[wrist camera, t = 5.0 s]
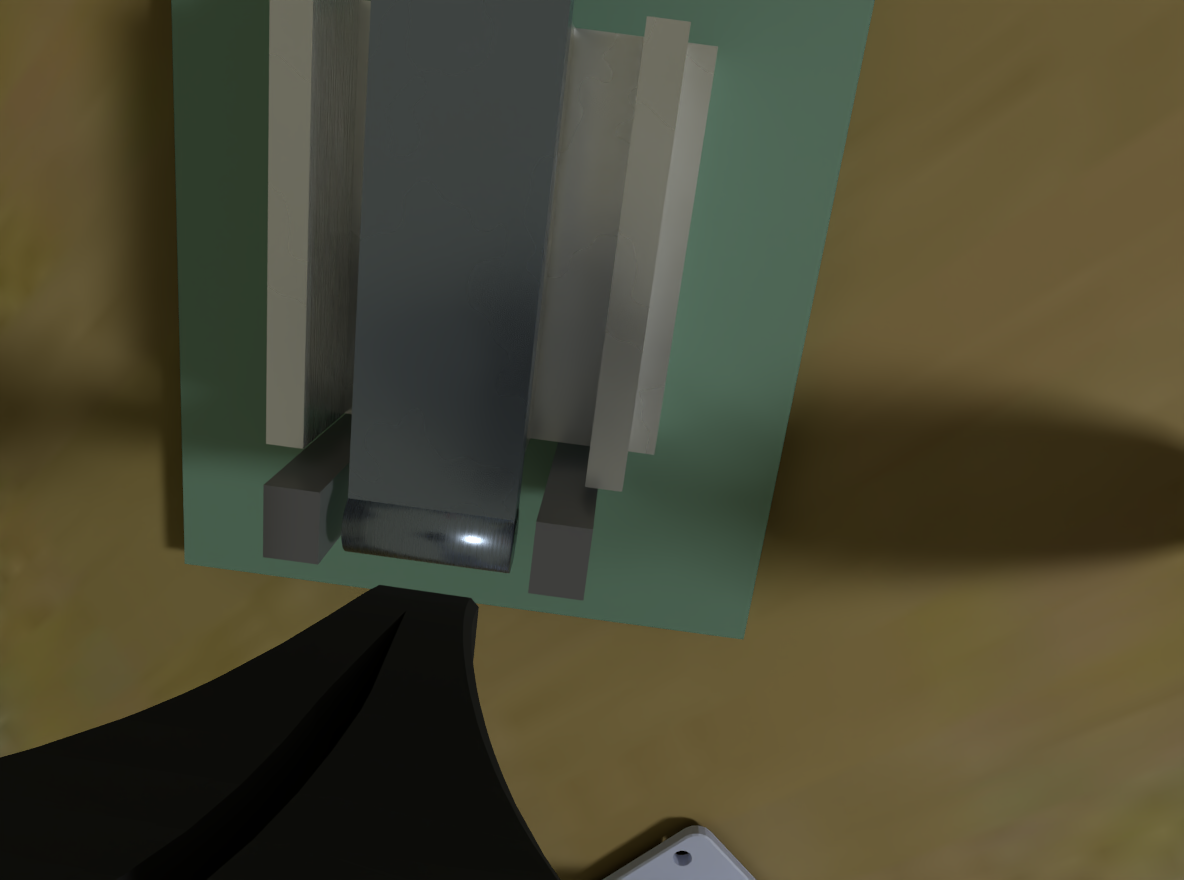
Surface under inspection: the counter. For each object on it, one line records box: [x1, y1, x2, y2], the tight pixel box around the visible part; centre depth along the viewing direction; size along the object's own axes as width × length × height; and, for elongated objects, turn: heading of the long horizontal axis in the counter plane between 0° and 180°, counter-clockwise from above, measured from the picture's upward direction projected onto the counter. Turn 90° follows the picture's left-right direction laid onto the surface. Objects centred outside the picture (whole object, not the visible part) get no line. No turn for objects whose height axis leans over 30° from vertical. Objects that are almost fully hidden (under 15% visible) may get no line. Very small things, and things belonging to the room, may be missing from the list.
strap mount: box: [263, 413, 598, 601], centre depth 15 cm, size 15×6×6 cm, turn 173°
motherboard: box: [171, 0, 875, 639], centre depth 19 cm, size 20×14×1 cm
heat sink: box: [266, 0, 718, 492], centre depth 17 cm, size 8×8×4 cm
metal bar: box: [341, 0, 574, 573], centre depth 15 cm, size 13×3×3 cm, turn 173°
